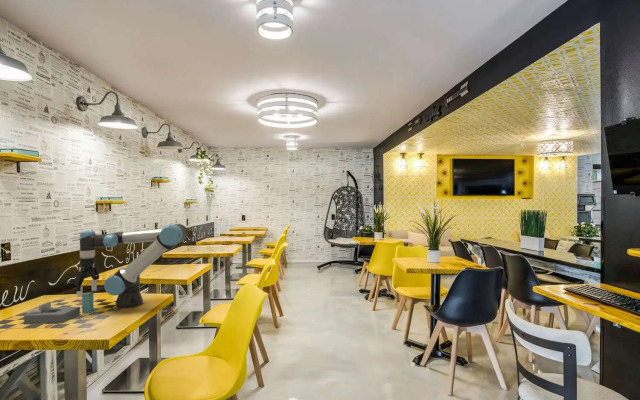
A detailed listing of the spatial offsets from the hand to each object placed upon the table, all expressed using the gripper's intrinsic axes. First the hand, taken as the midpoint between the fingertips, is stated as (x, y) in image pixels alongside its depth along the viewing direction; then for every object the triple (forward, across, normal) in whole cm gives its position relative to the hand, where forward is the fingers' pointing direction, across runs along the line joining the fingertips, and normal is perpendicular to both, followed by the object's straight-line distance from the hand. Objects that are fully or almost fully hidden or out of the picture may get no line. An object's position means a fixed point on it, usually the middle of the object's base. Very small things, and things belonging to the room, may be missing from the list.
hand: (87, 293), depth 202 cm
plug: (+11, 0, 0) cm, 11 cm away
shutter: (+6, +11, -19) cm, 23 cm away
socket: (+11, +11, -12) cm, 19 cm away
